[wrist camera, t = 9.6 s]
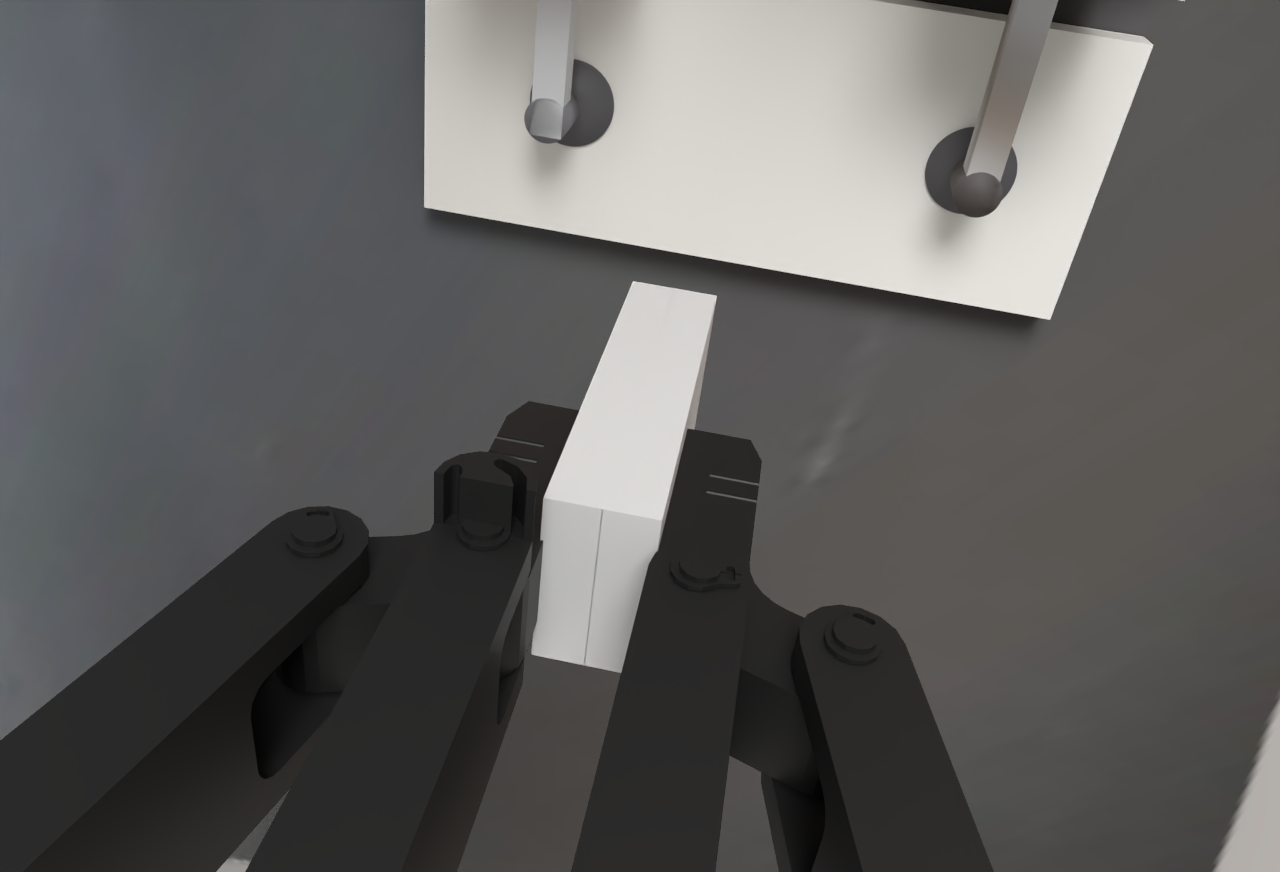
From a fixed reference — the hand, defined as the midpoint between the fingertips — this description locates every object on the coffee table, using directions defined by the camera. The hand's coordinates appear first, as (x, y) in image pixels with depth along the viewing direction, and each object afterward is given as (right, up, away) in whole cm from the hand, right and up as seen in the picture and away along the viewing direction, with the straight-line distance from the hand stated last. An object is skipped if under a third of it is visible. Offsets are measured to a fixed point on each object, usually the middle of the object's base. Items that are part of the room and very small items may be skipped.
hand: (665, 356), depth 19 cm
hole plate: (+3, +9, +16) cm, 18 cm away
